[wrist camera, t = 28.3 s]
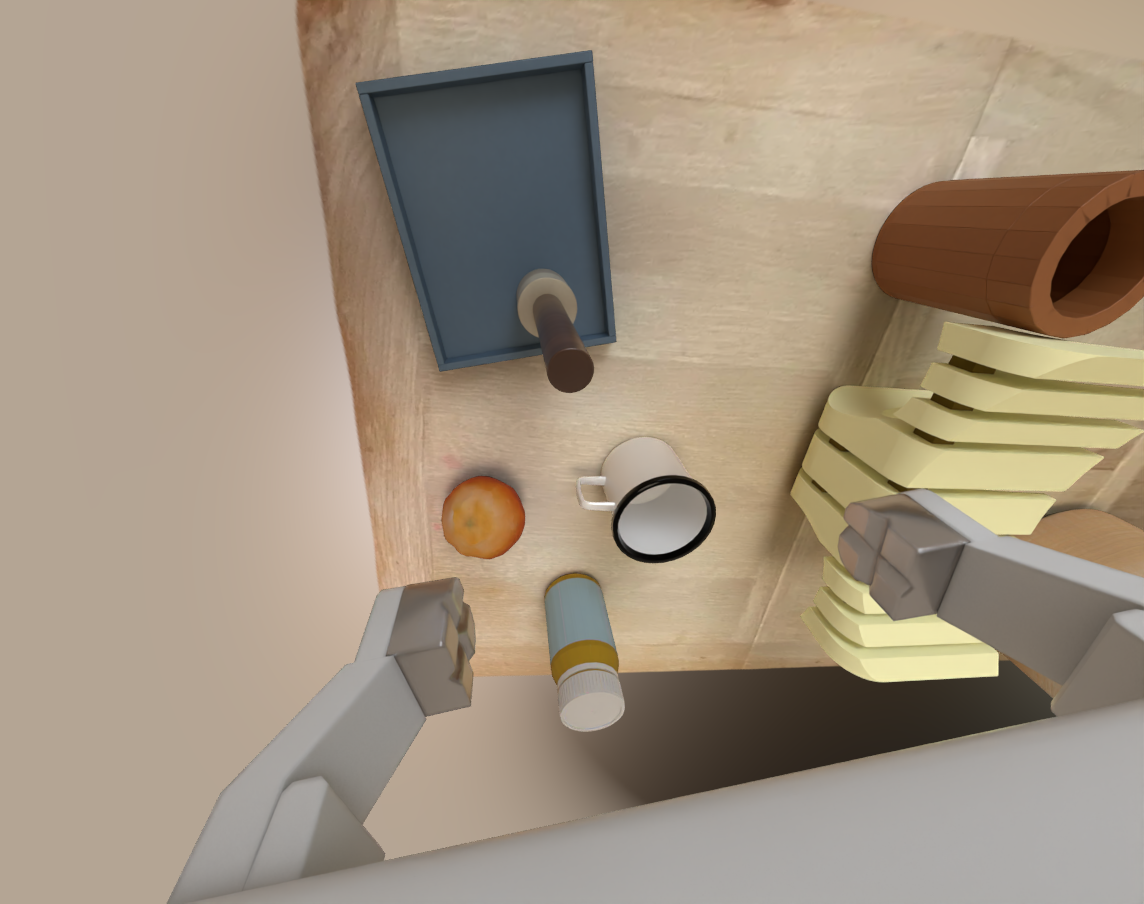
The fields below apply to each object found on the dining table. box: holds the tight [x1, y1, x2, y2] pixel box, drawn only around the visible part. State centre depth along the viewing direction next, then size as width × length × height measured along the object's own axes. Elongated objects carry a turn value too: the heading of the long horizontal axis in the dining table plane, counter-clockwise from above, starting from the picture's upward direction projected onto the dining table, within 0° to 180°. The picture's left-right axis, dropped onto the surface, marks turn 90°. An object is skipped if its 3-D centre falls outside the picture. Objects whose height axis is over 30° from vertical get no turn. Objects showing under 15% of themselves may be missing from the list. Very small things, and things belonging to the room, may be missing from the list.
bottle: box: [545, 573, 625, 731], centre depth 48 cm, size 7×7×15 cm
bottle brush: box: [516, 269, 594, 393], centre depth 29 cm, size 4×4×19 cm
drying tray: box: [356, 50, 616, 372], centre depth 34 cm, size 19×15×2 cm
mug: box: [576, 437, 716, 563], centre depth 43 cm, size 12×10×9 cm
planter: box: [1001, 509, 1144, 699], centre depth 55 cm, size 22×22×20 cm
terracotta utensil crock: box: [872, 170, 1144, 338], centre depth 33 cm, size 9×9×14 cm
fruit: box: [442, 476, 525, 559], centre depth 44 cm, size 8×8×8 cm
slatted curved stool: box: [790, 322, 1144, 682], centre depth 42 cm, size 30×16×18 cm, turn 174°
